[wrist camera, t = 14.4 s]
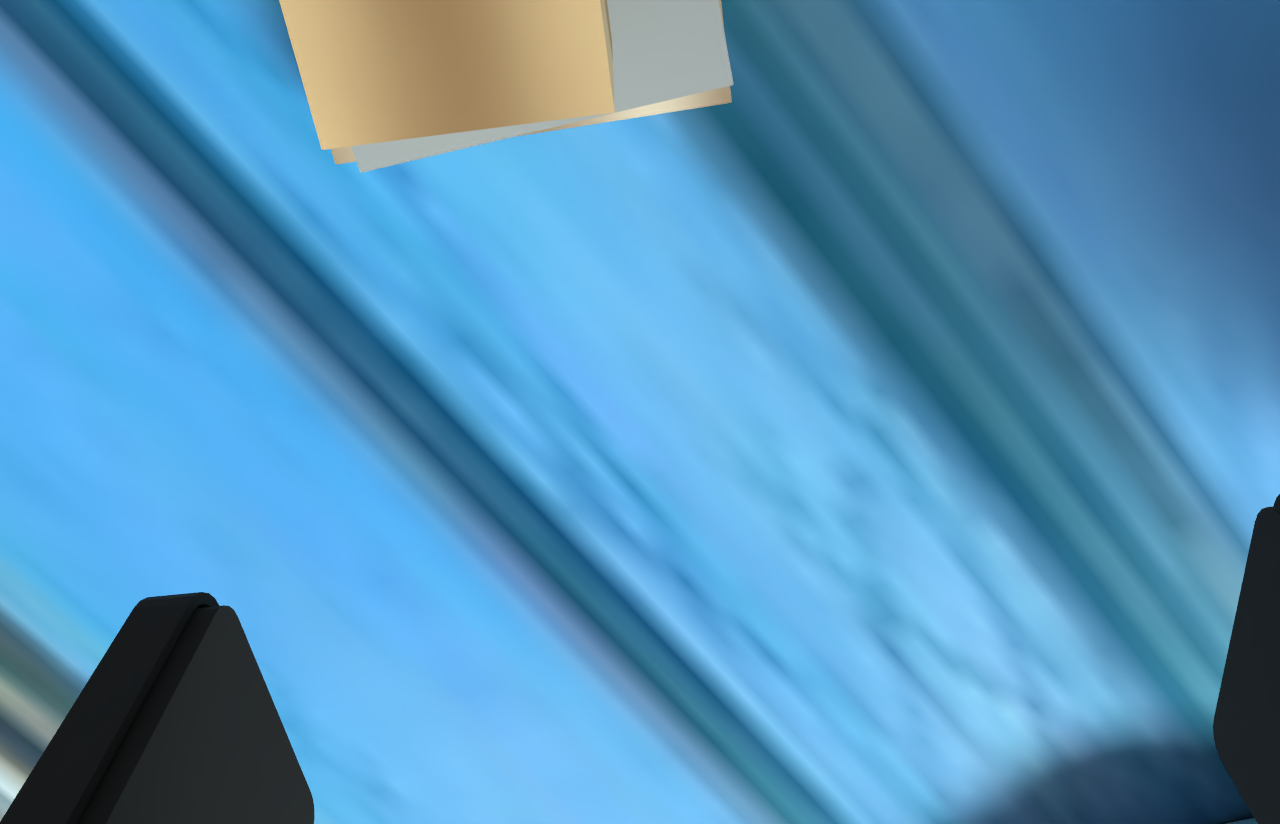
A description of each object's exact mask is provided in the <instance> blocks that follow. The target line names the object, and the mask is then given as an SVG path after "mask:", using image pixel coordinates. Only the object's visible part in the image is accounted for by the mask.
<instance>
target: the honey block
mask: <svg viewBox="0 0 1280 824" xmlns="http://www.w3.org/2000/svg"><path fill="white" fill-rule="evenodd" d="M279 2H280V5H281V9H282V12H283V16H284V19H285V23H286V26H287V30H288V33H289V37H290V40H291V44H292V47H293V51H294V54H295V58H296V61H297V65H298V68H299V72H300V75H301V78H302V82H303V85H304V89H305V92H306V96H307V99H308V103H309V106H310V110H311V113H312V117H313V120H314V124H315V127H316V131H317V134H318V138H319V141H320V145H321V148H322V150H325V149H333V148H341V147H348V146H356V145H364V144H372V143H380V142H388V141H396V140H403V139H411V138H419V137H427V136H435V135H443V134H451V133H459V132H466V131H474V130H482V129H490V128H498V127H506V126H514V125H521V124H529V123H537V122H545V121H553V120H561V119H569V118H576V117H584V116H592V115H600V114H608V113H615V105H614V78H613V52H612V36H611V28H610V21H609V13H608V5H607V0H279Z"/></svg>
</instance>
